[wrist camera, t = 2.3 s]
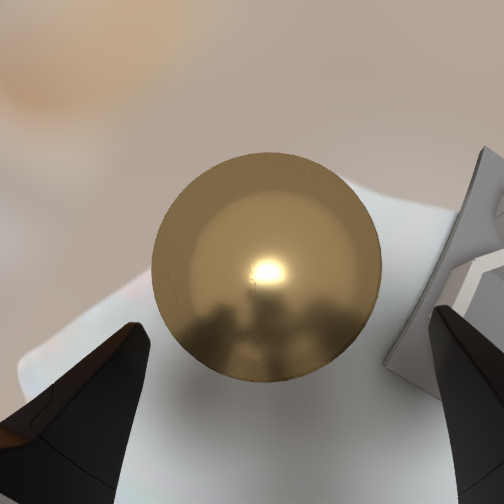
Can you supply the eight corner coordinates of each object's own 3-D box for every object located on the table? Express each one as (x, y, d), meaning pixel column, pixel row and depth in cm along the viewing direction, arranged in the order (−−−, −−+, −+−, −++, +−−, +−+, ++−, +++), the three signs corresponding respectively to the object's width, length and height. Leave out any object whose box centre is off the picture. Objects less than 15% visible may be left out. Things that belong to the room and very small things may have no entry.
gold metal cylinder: (311, 359, 17) (292, 431, 5) (243, 314, 18) (111, 292, 6) (356, 289, 17) (424, 218, 5) (287, 247, 19) (230, 119, 7)
